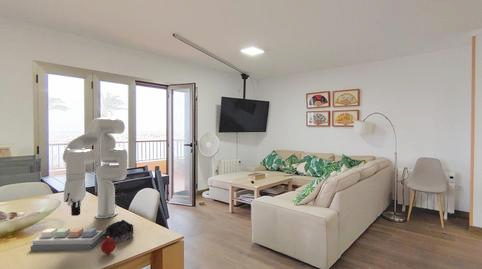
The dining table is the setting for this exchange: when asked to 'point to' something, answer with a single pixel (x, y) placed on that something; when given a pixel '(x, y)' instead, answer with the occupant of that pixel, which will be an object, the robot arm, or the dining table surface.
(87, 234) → the key slate
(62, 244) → the keypad board
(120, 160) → the robot arm
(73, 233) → the key terracotta
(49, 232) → the key ivory
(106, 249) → the onion
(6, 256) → the dining table surface
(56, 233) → the key sage
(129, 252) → the dining table surface
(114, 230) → the crystal cluster
